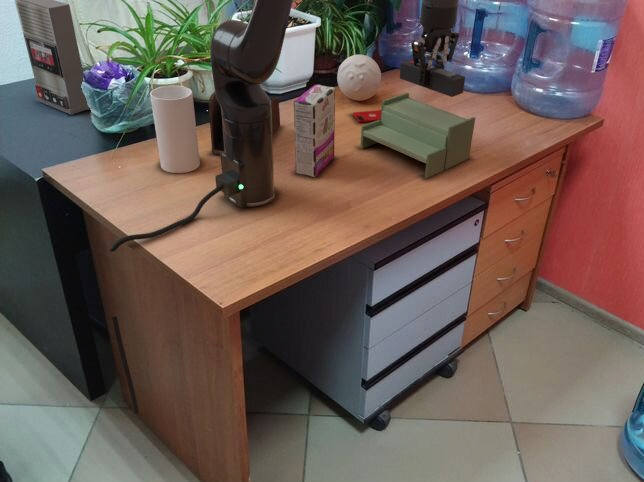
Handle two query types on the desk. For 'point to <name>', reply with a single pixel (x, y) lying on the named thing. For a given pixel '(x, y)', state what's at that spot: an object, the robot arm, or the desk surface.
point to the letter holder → (217, 127)
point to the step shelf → (421, 133)
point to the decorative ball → (359, 77)
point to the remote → (434, 79)
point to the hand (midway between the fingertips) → (430, 83)
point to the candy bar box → (314, 130)
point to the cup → (175, 128)
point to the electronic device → (367, 116)
